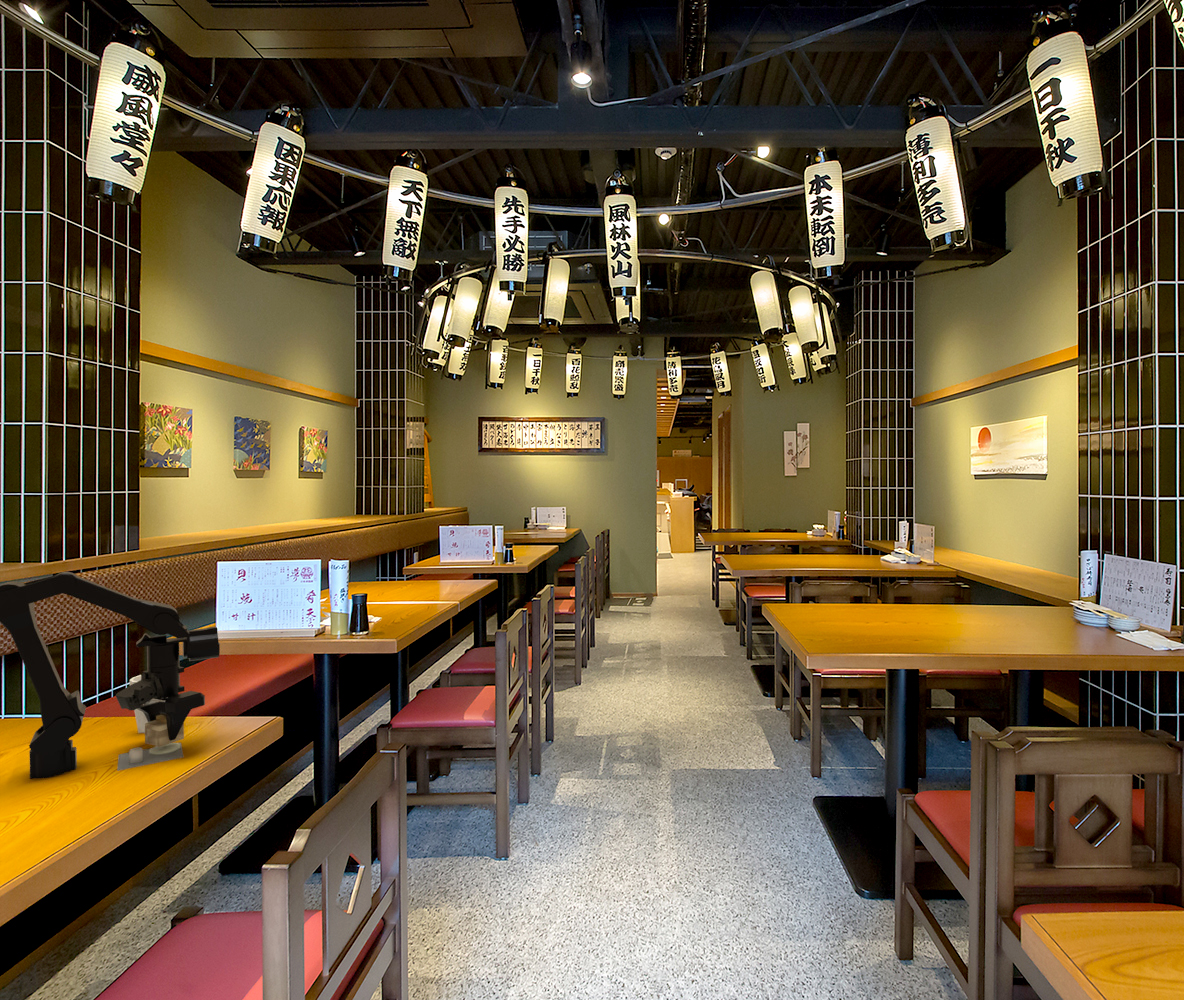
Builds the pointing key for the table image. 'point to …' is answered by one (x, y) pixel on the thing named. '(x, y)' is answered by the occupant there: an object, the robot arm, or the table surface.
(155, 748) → the lock board
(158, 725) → the hinoki cap
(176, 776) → the table surface
